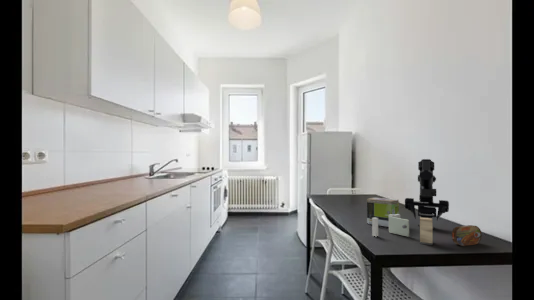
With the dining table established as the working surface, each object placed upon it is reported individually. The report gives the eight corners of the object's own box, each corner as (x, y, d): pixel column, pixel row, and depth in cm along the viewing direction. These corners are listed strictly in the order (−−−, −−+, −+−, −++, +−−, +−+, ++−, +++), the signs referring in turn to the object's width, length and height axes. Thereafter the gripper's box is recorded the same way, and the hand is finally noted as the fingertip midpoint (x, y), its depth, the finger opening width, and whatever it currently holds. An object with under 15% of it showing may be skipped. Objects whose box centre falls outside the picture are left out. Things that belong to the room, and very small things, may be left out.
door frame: (397, 229, 163) (397, 212, 163) (400, 230, 161) (400, 213, 161) (372, 236, 150) (372, 217, 150) (375, 237, 148) (375, 218, 148)
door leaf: (387, 232, 155) (387, 217, 155) (390, 232, 157) (390, 216, 157) (406, 237, 147) (406, 220, 147) (409, 236, 149) (408, 219, 149)
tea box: (399, 225, 173) (399, 199, 173) (392, 228, 166) (392, 201, 166) (374, 221, 184) (374, 196, 184) (366, 223, 177) (366, 198, 177)
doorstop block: (420, 240, 142) (420, 217, 142) (432, 242, 140) (432, 218, 140) (420, 243, 138) (419, 219, 138) (432, 245, 135) (432, 220, 135)
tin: (456, 246, 133) (456, 227, 133) (450, 244, 136) (450, 225, 136) (482, 244, 137) (482, 225, 138) (475, 242, 140) (475, 223, 141)
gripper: (404, 181, 151) (403, 207, 141) (448, 183, 142) (450, 210, 132) (405, 195, 158) (404, 221, 148) (447, 198, 149) (449, 225, 139)
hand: (426, 219), depth 141 cm, fingers open, 9 cm apart
